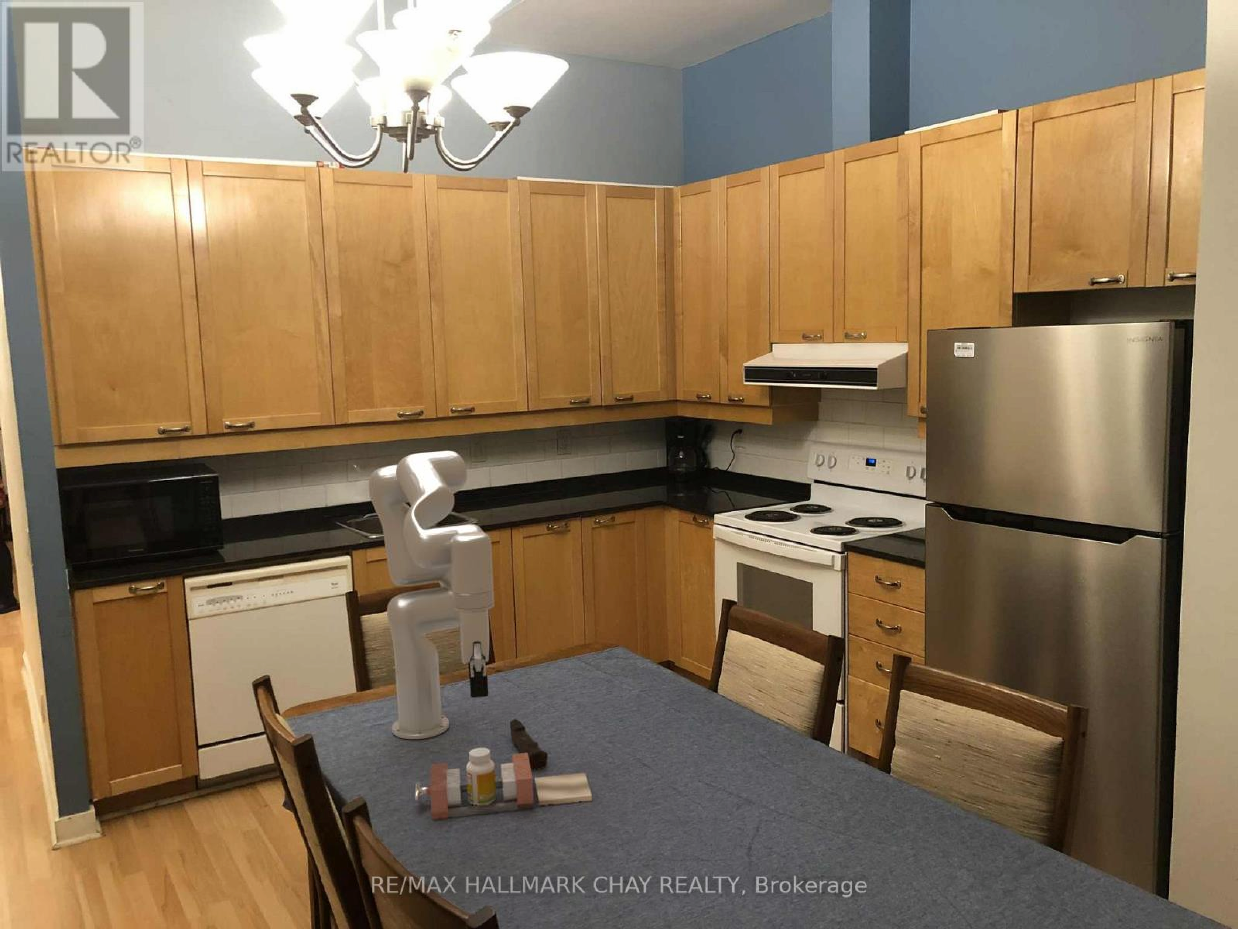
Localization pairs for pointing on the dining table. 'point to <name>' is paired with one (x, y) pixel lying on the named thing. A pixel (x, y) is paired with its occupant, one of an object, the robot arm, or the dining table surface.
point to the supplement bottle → (480, 777)
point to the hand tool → (527, 745)
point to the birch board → (562, 789)
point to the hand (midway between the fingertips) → (478, 687)
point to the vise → (449, 788)
